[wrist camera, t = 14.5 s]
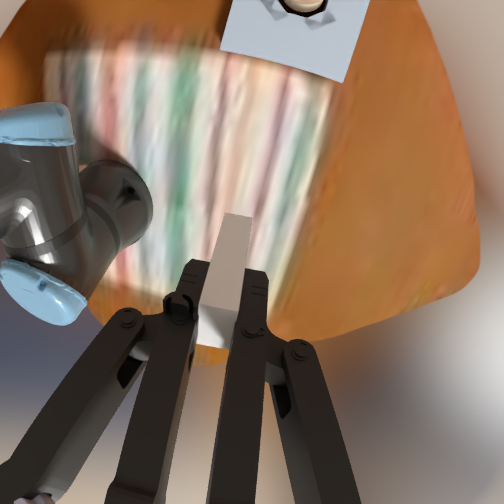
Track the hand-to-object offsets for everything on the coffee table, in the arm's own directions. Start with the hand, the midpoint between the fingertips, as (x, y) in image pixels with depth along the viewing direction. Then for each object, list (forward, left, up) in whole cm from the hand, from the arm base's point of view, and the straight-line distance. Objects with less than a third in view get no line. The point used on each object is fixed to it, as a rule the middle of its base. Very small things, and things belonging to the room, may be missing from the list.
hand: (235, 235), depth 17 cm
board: (0, +18, -24) cm, 30 cm away
